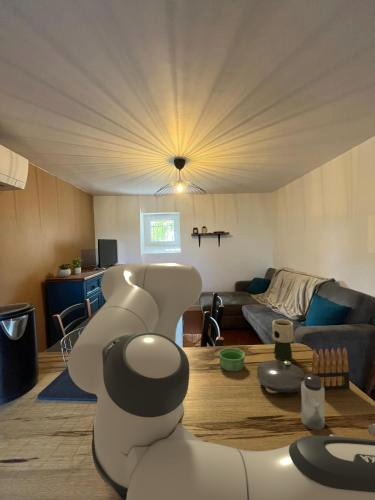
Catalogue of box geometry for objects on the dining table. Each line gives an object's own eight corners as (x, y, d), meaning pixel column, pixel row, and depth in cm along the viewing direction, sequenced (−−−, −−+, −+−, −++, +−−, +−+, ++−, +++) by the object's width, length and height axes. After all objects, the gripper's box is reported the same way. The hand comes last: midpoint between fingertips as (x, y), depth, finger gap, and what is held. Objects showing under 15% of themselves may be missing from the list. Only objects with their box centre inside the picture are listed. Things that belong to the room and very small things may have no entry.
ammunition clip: (345, 385, 76) (346, 346, 75) (349, 389, 74) (350, 348, 73) (310, 387, 75) (310, 347, 75) (313, 391, 73) (313, 350, 73)
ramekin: (244, 374, 83) (244, 361, 83) (216, 371, 86) (216, 358, 86) (245, 361, 92) (245, 349, 92) (220, 358, 94) (220, 346, 94)
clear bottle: (310, 431, 59) (310, 385, 58) (296, 416, 63) (296, 374, 63) (329, 427, 60) (329, 382, 59) (314, 413, 65) (314, 370, 64)
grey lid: (272, 403, 69) (272, 385, 68) (249, 377, 81) (249, 361, 81) (314, 395, 72) (314, 377, 71) (286, 371, 84) (286, 356, 84)
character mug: (268, 350, 99) (267, 317, 98) (286, 350, 99) (286, 317, 98) (279, 365, 88) (278, 328, 87) (299, 364, 88) (299, 327, 87)
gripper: (375, 545, 35) (306, 459, 49) (480, 504, 40) (391, 436, 53) (376, 502, 35) (306, 427, 48) (482, 466, 39) (392, 407, 53)
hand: (351, 432), depth 51 cm, fingers open, 8 cm apart
